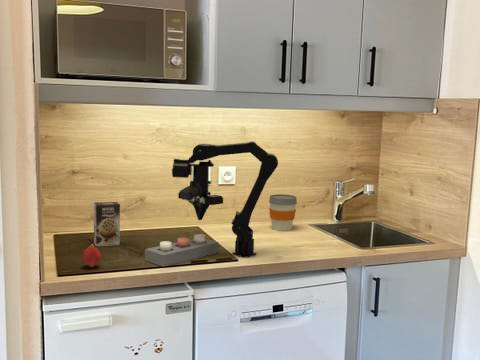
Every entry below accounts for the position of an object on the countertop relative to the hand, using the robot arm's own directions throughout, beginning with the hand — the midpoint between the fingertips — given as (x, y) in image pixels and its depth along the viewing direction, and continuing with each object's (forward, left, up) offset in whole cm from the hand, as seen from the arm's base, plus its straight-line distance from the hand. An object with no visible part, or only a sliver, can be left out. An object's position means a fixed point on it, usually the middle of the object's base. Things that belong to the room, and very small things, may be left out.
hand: (199, 220), depth 191 cm
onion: (+10, +39, -13) cm, 42 cm away
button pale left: (0, +16, -9) cm, 18 cm away
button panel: (0, +8, -12) cm, 15 cm away
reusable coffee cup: (+4, -55, -13) cm, 56 cm away
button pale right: (0, 0, -9) cm, 9 cm away
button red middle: (0, +8, -9) cm, 12 cm away
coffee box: (+32, +19, -13) cm, 39 cm away
